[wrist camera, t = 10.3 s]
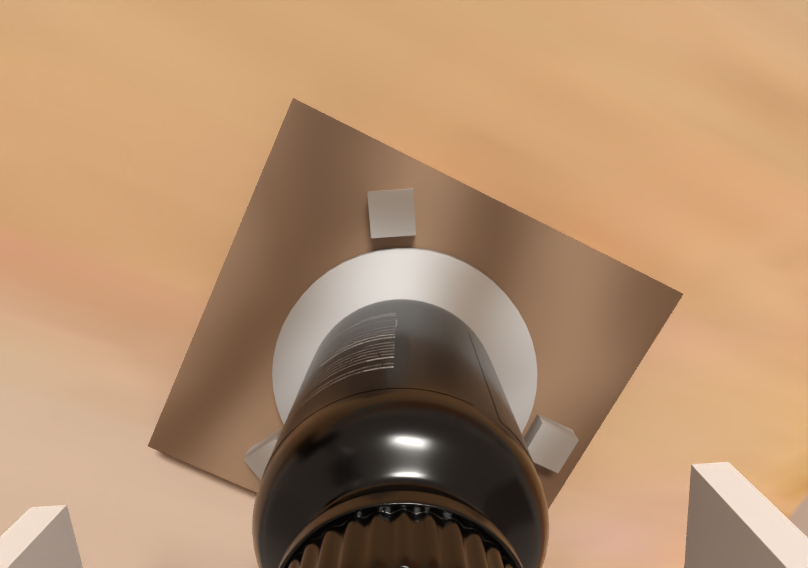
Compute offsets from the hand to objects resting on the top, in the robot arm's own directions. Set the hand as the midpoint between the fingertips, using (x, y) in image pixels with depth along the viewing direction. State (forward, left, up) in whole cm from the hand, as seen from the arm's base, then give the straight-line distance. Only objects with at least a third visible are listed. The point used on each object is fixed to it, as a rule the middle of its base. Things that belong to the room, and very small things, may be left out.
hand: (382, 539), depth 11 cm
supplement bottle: (0, 0, -9) cm, 9 cm away
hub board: (0, 0, -11) cm, 11 cm away
